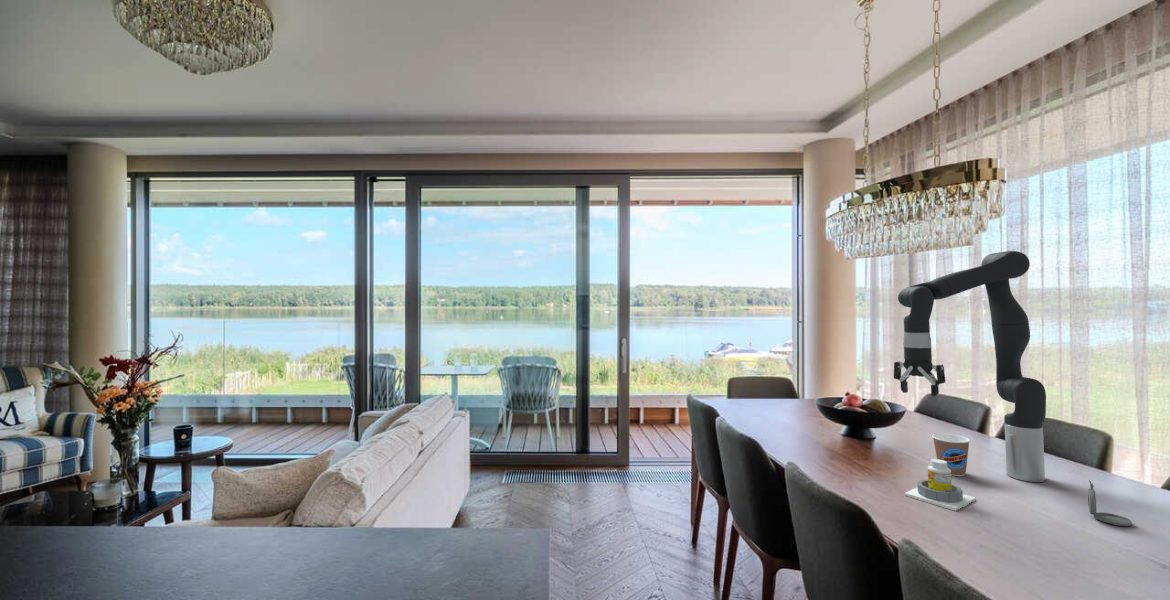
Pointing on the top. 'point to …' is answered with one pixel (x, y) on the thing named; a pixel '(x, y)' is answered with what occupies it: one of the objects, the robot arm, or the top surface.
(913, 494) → the ring holder
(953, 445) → the coffee cup
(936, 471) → the supplement bottle
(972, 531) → the top surface
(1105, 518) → the pocket watch
